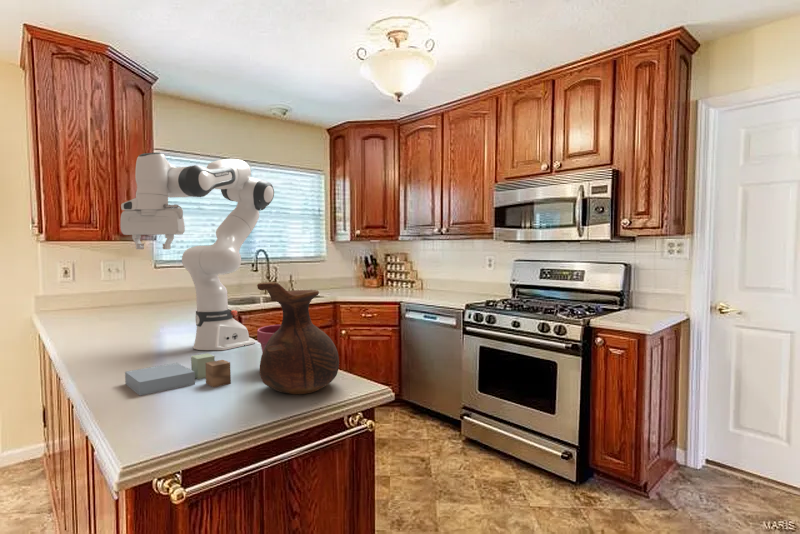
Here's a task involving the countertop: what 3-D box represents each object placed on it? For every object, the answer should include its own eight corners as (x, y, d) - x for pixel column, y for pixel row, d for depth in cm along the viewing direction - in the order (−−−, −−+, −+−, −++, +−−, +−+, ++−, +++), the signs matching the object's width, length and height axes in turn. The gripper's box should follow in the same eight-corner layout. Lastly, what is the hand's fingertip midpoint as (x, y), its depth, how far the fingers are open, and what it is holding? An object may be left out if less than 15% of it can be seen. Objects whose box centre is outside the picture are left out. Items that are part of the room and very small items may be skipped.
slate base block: (177, 375, 140) (177, 362, 139) (194, 385, 130) (194, 371, 129) (125, 385, 130) (125, 371, 130) (139, 397, 120) (139, 382, 120)
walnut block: (223, 379, 134) (222, 359, 133) (230, 383, 130) (230, 362, 130) (205, 383, 130) (205, 362, 130) (213, 387, 127) (212, 366, 126)
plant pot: (287, 376, 137) (287, 333, 136) (248, 371, 142) (247, 330, 141) (312, 364, 151) (311, 325, 150) (275, 360, 155) (274, 323, 154)
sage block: (208, 372, 142) (207, 353, 141) (214, 375, 138) (214, 356, 138) (191, 375, 138) (191, 356, 138) (197, 379, 134) (197, 358, 134)
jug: (255, 381, 132) (253, 277, 130) (329, 373, 139) (328, 275, 138) (260, 406, 111) (258, 283, 110) (347, 395, 119) (346, 280, 118)
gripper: (188, 205, 144) (189, 249, 144) (131, 206, 148) (132, 249, 148) (175, 203, 138) (176, 249, 138) (116, 204, 141) (117, 249, 142)
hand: (153, 249), depth 143 cm, fingers open, 8 cm apart
